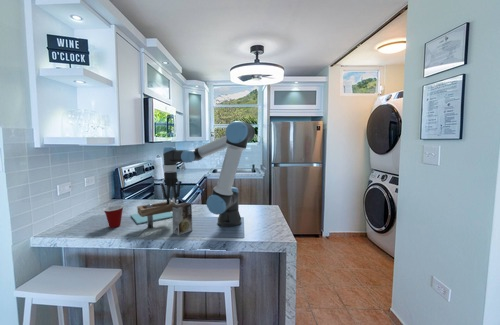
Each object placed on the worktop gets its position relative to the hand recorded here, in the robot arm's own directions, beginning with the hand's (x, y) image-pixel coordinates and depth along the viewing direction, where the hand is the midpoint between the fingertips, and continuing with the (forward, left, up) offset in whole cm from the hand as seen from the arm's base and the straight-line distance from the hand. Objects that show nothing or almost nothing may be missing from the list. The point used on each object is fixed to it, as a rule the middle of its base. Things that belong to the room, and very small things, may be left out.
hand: (171, 208), depth 149 cm
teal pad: (+20, +6, -9) cm, 23 cm away
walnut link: (0, +9, 0) cm, 9 cm away
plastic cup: (+15, +30, -10) cm, 35 cm away
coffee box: (-18, 0, -10) cm, 20 cm away
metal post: (0, +13, -10) cm, 16 cm away
